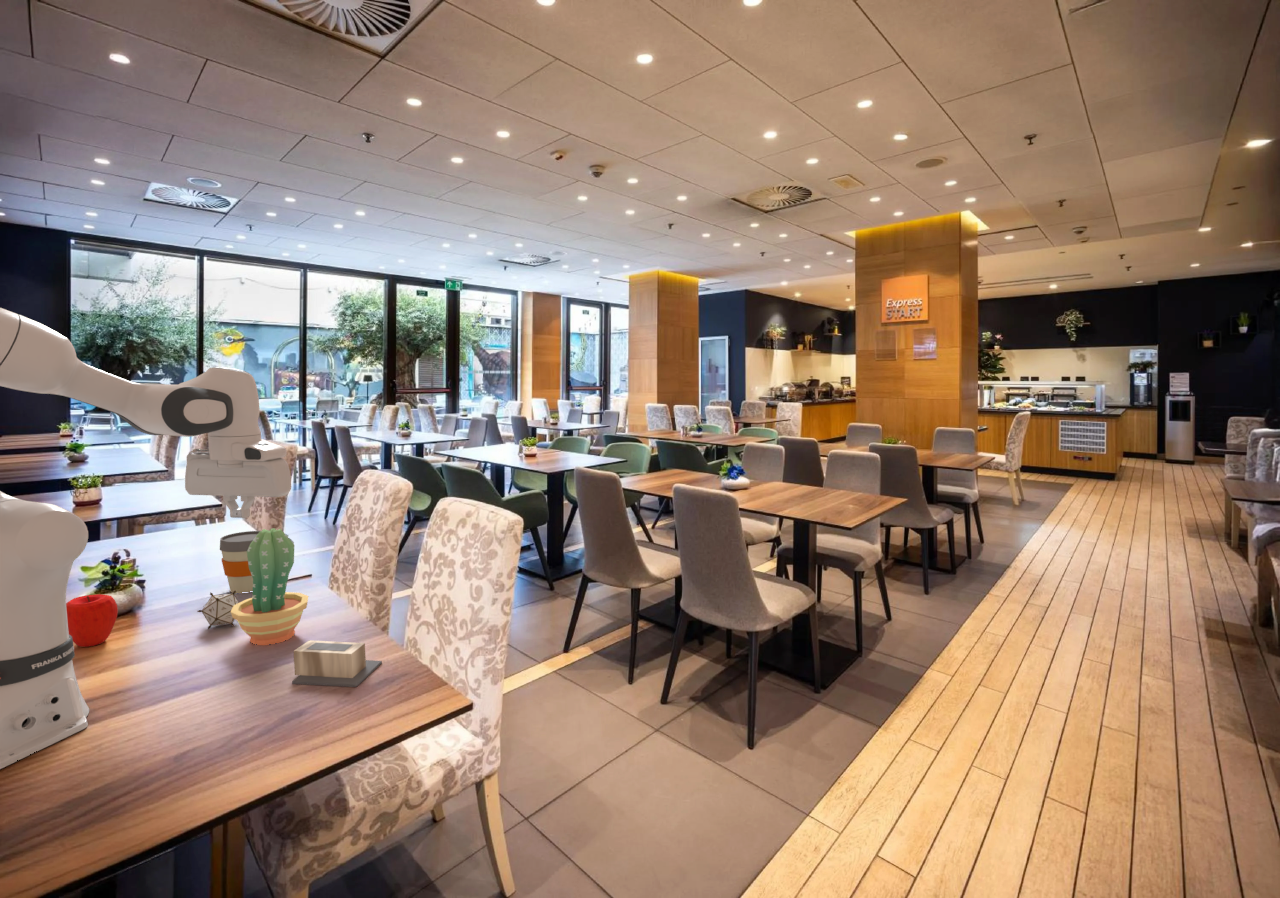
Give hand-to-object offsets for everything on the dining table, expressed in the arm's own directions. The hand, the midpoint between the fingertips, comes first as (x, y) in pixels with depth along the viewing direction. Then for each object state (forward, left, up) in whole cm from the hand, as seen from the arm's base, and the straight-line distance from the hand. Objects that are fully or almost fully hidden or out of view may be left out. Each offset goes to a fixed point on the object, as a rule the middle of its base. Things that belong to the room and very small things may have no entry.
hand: (240, 517), depth 123 cm
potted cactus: (+13, +4, -31) cm, 34 cm away
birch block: (-2, -13, -28) cm, 31 cm away
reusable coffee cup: (+43, +32, -31) cm, 62 cm away
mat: (-2, -20, -31) cm, 37 cm away
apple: (+6, +41, -31) cm, 52 cm away
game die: (+18, +20, -31) cm, 41 cm away
